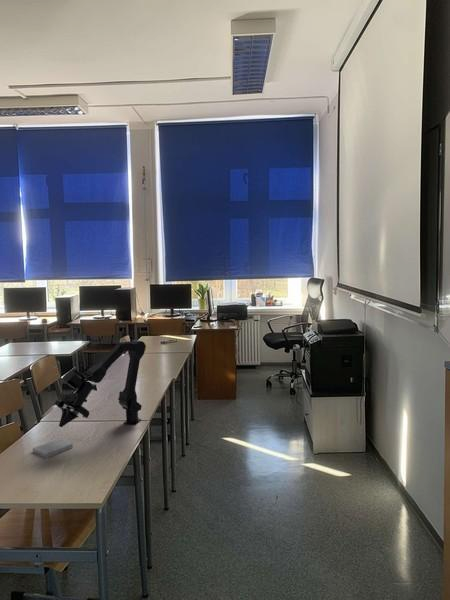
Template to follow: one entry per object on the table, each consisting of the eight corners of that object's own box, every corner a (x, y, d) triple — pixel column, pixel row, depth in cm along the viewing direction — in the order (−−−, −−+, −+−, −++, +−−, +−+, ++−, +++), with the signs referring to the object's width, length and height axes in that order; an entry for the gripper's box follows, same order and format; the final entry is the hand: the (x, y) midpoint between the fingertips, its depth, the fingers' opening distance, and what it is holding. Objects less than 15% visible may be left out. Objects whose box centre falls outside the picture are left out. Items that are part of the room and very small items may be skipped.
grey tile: (59, 438, 194) (32, 448, 185) (72, 443, 188) (45, 454, 179) (59, 443, 194) (33, 452, 185) (72, 448, 188) (45, 458, 179)
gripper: (56, 381, 197) (34, 413, 190) (81, 387, 186) (59, 421, 178) (73, 394, 204) (53, 425, 196) (98, 401, 192) (77, 434, 185)
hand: (60, 426), depth 189 cm, fingers closed
